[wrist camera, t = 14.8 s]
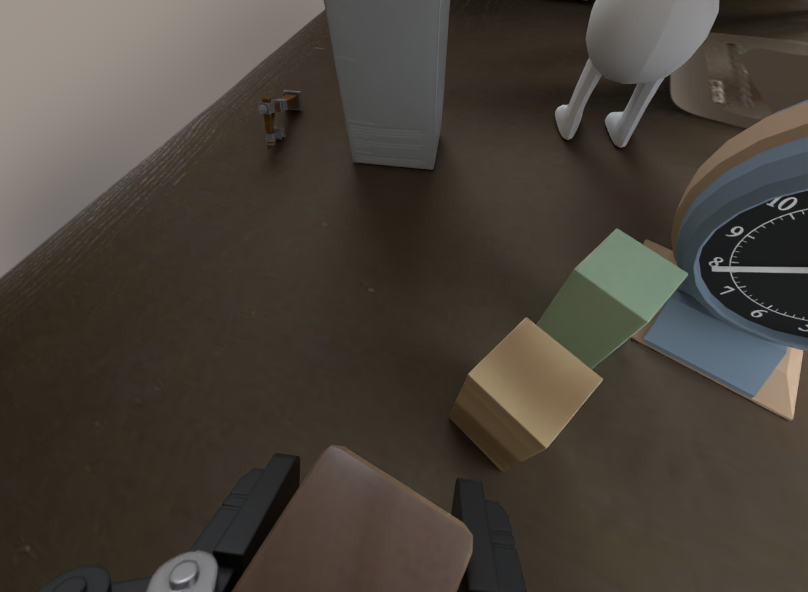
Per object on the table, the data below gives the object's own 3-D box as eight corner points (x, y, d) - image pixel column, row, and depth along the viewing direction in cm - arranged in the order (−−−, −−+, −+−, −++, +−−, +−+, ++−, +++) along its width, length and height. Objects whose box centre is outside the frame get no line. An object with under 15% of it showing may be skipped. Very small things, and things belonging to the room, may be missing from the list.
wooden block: (296, 580, 14) (203, 625, 7) (357, 476, 16) (328, 434, 9) (390, 652, 13) (384, 785, 6) (443, 532, 15) (483, 533, 8)
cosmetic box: (441, 132, 40) (463, -72, 26) (432, 179, 36) (452, -30, 23) (361, 122, 40) (343, -82, 27) (345, 168, 37) (314, -42, 23)
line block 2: (583, 376, 26) (648, 322, 19) (530, 332, 28) (573, 268, 21) (618, 336, 28) (689, 273, 21) (566, 297, 30) (617, 227, 23)
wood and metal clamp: (257, 150, 36) (250, 97, 34) (288, 133, 43) (283, 87, 40) (275, 152, 36) (269, 99, 34) (303, 134, 43) (300, 89, 40)
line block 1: (502, 472, 23) (546, 449, 16) (448, 416, 25) (467, 374, 18) (546, 420, 25) (603, 378, 18) (493, 371, 26) (526, 316, 20)
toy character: (632, 114, 42) (736, -69, 29) (641, 169, 37) (769, -19, 24) (549, 102, 43) (613, -80, 30) (547, 154, 38) (622, -34, 25)
